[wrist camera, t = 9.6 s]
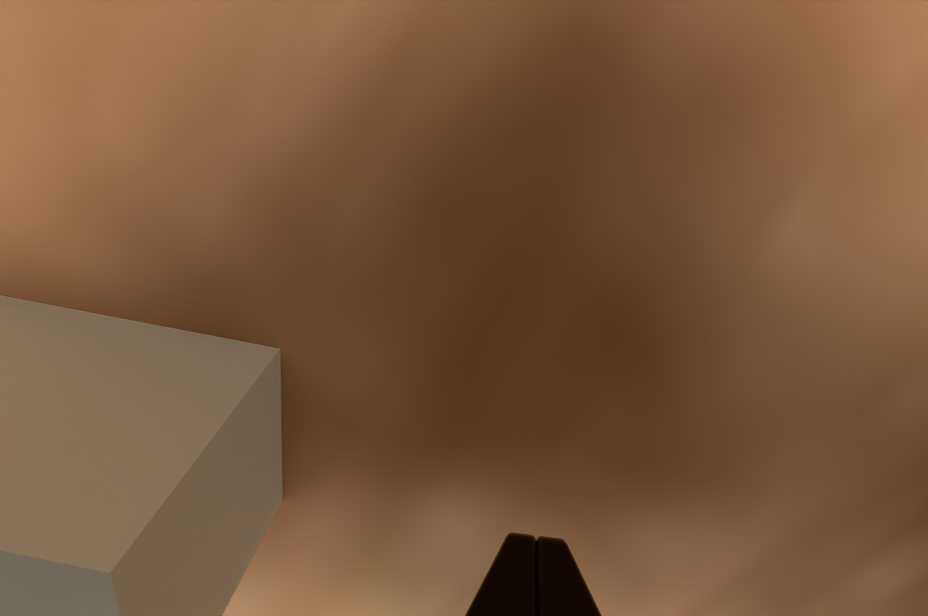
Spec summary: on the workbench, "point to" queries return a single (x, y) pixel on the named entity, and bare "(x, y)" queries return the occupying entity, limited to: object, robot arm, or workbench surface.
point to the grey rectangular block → (131, 463)
